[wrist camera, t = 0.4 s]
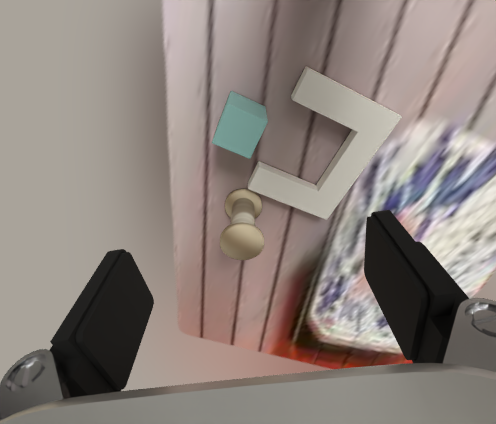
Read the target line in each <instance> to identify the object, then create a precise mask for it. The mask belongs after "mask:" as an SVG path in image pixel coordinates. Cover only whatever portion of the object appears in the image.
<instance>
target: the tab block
mask: <svg viewBox="0 0 496 424" xmlns="http://www.w3.org/2000/svg"><path fill="white" fill-rule="evenodd" d="M267 122H268V120H267V114H266V108H265V106H263V105H261V104H259V103H256V102H254V101H252V100H250V99H248V98H246V97H244V96H241V95H239V94H237V93H235V92H233V91H231V92H230V94H229V97H228V99H227V102H226V105H225V107H224V110H223V112H222V115H221V118H220V120H219V123H218V126H217V129H216V132H215V135H214V138H213V141H212V143H213V144H215V145H218V146H220V147H222V148H225V149H227V150H230V151H232V152H234V153H237V154H239V155H242V156H244V157H246V158H249V159H250V158H251V156H252V154H253V152H254V150H255V147H256V145H257V143H258V141H259V139H260V137H261V135H262V133H263V131H264V129H265V127H266V124H267Z"/></svg>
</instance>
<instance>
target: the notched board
mask: <svg viewBox="0 0 496 424" xmlns="http://www.w3.org/2000/svg"><path fill="white" fill-rule="evenodd" d="M291 99H292V100H293V101H295V102H297V103H299V104H301V105H303V106H305V107H307V108H309V109H311V110H313V111H316V112H318V113H320V114H322V115H324V116H326V117H328V118H330V119H332V120H334V121H336V122H338V123H340V124H342V125H344V126H347V127H349V128H351V129H352V131H351V132H350V134H349V135H348V137H347V138H346V140H345V141H344V143H343V145H342V146H341V148H340V149H339V151H338V152H337V154H336V155H335V157H334V158H333V160H332V161H331V163H330V164H329V166H328V168H327V169H326V171H325V172H324V174H323V175H322V177H321V178H320V180H319V181H318V183H317V184H316V185H314V184H312V183H310V182H307V181H305V180H302V179H300V178H298V177H295V176H293V175H291V174H288V173H286V172H283V171H281V170H279V169H276V168H274V167H271V166H269V165H267V164H264V163H262V162H259V161H258V163H257V165H256V167H255V169H254V171H253V173H252V175H251V177H250V179H249V181H248V189H249V190H252V191H254V192H257V193H259V194H262V195H264V196H267V197H270V198H272V199H275V200H277V201H280V202H282V203H285V204H287V205H290V206H292V207H295V208H298V209H300V210H303V211H305V212H308V213H310V214H313V215H315V216H318V217H321V218H323V219H326V220H327V219H328V217H329V216H330V215H331V213H332V212H333V211H334V209H335V208H336V206H337V205H338V204H339V202H340V201H341V200H342V198H343V197H344V196H345V194H346V193H347V191H348V190H349V189H350V187H351V186H352V185H353V183H354V182H355V180H356V179H357V178H358V176H359V175H360V174H361V172H362V171H363V170H364V168H365V167H366V165H367V164H368V163H369V161H370V160H371V159H372V157H373V156H374V154H375V153H376V152H377V150H378V149H379V148H380V146H381V145H382V144H383V142H384V141H385V139H386V138H387V137H388V135H389V134H390V133H391V131H392V130H393V128H394V127H395V126H396V124H397V123H398V122H399V120H400V119H401V118H402V116H400V115H399V114H397V113H395V112H394V111H392V110H390V109H388V108H386V107H384V106H382V105H380V104H378V103H376V102H374V101H372V100H370V99H369V98H367V97H365V96H363V95H361V94H359V93H357V92H355V91H353V90H351V89H349V88H347V87H345V86H343V85H342V84H340V83H338V82H336V81H334V80H332V79H330V78H328V77H326V76H324V75H322V74H320V73H318V72H317V71H315V70H313V69H311V68H309V67H307V66H306V67H305V69H304V71H303V73H302V75H301V77H300V79H299V81H298V83H297V85H296V87H295V89H294V91H293V93H292V95H291Z"/></svg>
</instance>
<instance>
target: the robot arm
mask: <svg viewBox="0 0 496 424" xmlns="http://www.w3.org/2000/svg"><path fill="white" fill-rule="evenodd" d="M364 273H365V277H366V279H367V281H368V283H369V285H370V288H371V290H372V292H373V294H374V296H375V298H376V300H377V302H378V304H379V306H380V308H381V310H382V312H383V314H384V316H385V318H386V320H387V322H388V324H389V326H390V328H391V330H392V332H393V334H394V336H395V338H396V340H397V342H398V344H399V346H400V348H401V350H402V352H403V355H404V356H405V358H406V359H407V360H412V361H413V363H412V364H394V365H381V366H369V367H356V368H345V369H334V370H325V371H314V372H303V373H293V374H283V375H273V376H263V377H254V378H243V379H233V380H224V381H214V382H204V383H194V384H185V385H175V386H166V387H157V388H148V389H138V390H129V391H121V389H124V387H125V386H126V384H127V381H128V378H129V375H130V372H131V370H132V367H133V363H134V361H135V358H136V355H137V352H138V349H139V346H140V343H141V340H142V337H143V334H144V331H145V329H146V326H147V323H148V320H149V317H150V314H151V311H152V308H153V304H154V300H153V297H152V294H151V293H150V291H149V289H148V287H147V285H146V283H145V281H144V279H143V277H142V275H141V273H140V271H139V269H138V267H137V265H136V263H135V261H134V259H133V257H132V255H131V254H130V253H129V252H126V251H125V250H124V249H121V250H114V251H109V252H107V254H106V256H105V257H104V259H103V260H102V261H101V263H100V265H99V266H98V268H97V269H96V271H95V272H94V274H93V276H92V277H91V279H90V280H89V282H88V283H87V285H86V287H85V288H84V290H83V291H82V293H81V295H80V296H79V298H78V299H77V301H76V302H75V304H74V306H73V307H72V309H71V310H70V312H69V313H68V315H67V316H66V318H65V320H64V321H63V323H62V324H61V326H60V328H59V329H58V331H57V332H56V334H55V335H54V337H53V339H52V340H51V343H52V344H53V346H52V347H51V349H50V350H47V349H40V350H36V351H33V352H31V353H29V354H27V355H25V356H24V357H22V358H21V359H20V360H18V361H17V362H16V363H15V364H14V365H13V366H12V367H11V368H10V369H9V370H8V371H7V373H6V374H5V375H4V377H3V379H2V381H1V383H0V424H496V301H493V300H489V299H484V298H472V299H469V298H468V296H467V295H466V294H465V293H464V292H463V291H462V289H461V288H460V287H459V286H458V285H457V283H456V282H455V281H454V280H453V279H452V278H451V276H450V275H449V274H448V273H447V272H446V270H445V269H444V268H443V267H442V266H441V265H440V263H439V262H438V261H437V260H436V259H435V257H434V256H433V255H432V254H431V253H430V252H429V250H428V249H427V248H426V247H425V246H424V245H423V244H422V243H421V242H415V241H414V239H413V238H412V237H411V236H410V234H409V233H408V232H407V231H406V230H405V228H404V227H403V226H402V225H401V223H400V222H399V221H398V220H397V219H396V217H395V216H394V215H393V214H392V212H391V211H389V210H385V211H378V212H373V213H372V215H371V217H367V223H366V242H365V262H364Z"/></svg>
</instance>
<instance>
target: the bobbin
mask: <svg viewBox="0 0 496 424" xmlns="http://www.w3.org/2000/svg"><path fill="white" fill-rule="evenodd" d="M225 210H226V213H227V214H228V216H229V217H230V218H231V225H229V226H228V227H226V228H225V229H224V230H223V232H222V234H221V237H220V247H221V249H222V251H223V252H224V253H225V254H226V255H227V256H229V257H231V258H233V259H237V260H248V259H252V258H254V257H256V256H257V255H259V254H260V253H261V251H262V249H263V247H264V237H263V234H262V232H261V231H260V230H259V229H258V228H257V227H256V226H255V218H257V217H258V216H259V214H260V213H261V210H262V202H261V199H260V197H259V196H258V194H257V193H255V192H254V191H252V190H249V189H237V190H235V191H233V192H231V193H230V194H229V195H228V197H227V198H226V202H225Z"/></svg>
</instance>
